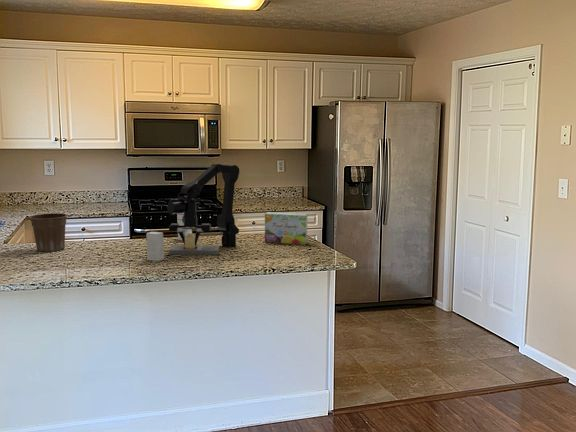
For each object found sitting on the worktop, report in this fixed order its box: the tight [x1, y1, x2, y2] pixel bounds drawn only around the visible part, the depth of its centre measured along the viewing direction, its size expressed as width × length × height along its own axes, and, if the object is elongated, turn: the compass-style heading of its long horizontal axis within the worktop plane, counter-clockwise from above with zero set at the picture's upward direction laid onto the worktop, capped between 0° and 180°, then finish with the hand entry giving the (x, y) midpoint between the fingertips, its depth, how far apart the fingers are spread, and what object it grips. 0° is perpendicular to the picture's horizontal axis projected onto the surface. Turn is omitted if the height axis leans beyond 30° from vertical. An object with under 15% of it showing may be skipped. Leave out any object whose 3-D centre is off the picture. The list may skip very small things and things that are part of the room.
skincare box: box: [146, 231, 165, 262], centre depth 247 cm, size 6×4×12 cm
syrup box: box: [176, 212, 193, 241], centre depth 293 cm, size 6×6×14 cm
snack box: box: [264, 211, 308, 246], centre depth 287 cm, size 21×6×15 cm, turn 77°
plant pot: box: [29, 212, 68, 253], centre depth 265 cm, size 16×16×16 cm
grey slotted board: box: [168, 244, 221, 256], centre depth 264 cm, size 22×11×2 cm, turn 92°
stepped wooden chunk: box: [185, 233, 196, 249], centre depth 263 cm, size 4×5×7 cm
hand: (190, 245), depth 263 cm, fingers closed on stepped wooden chunk, 4 cm apart
